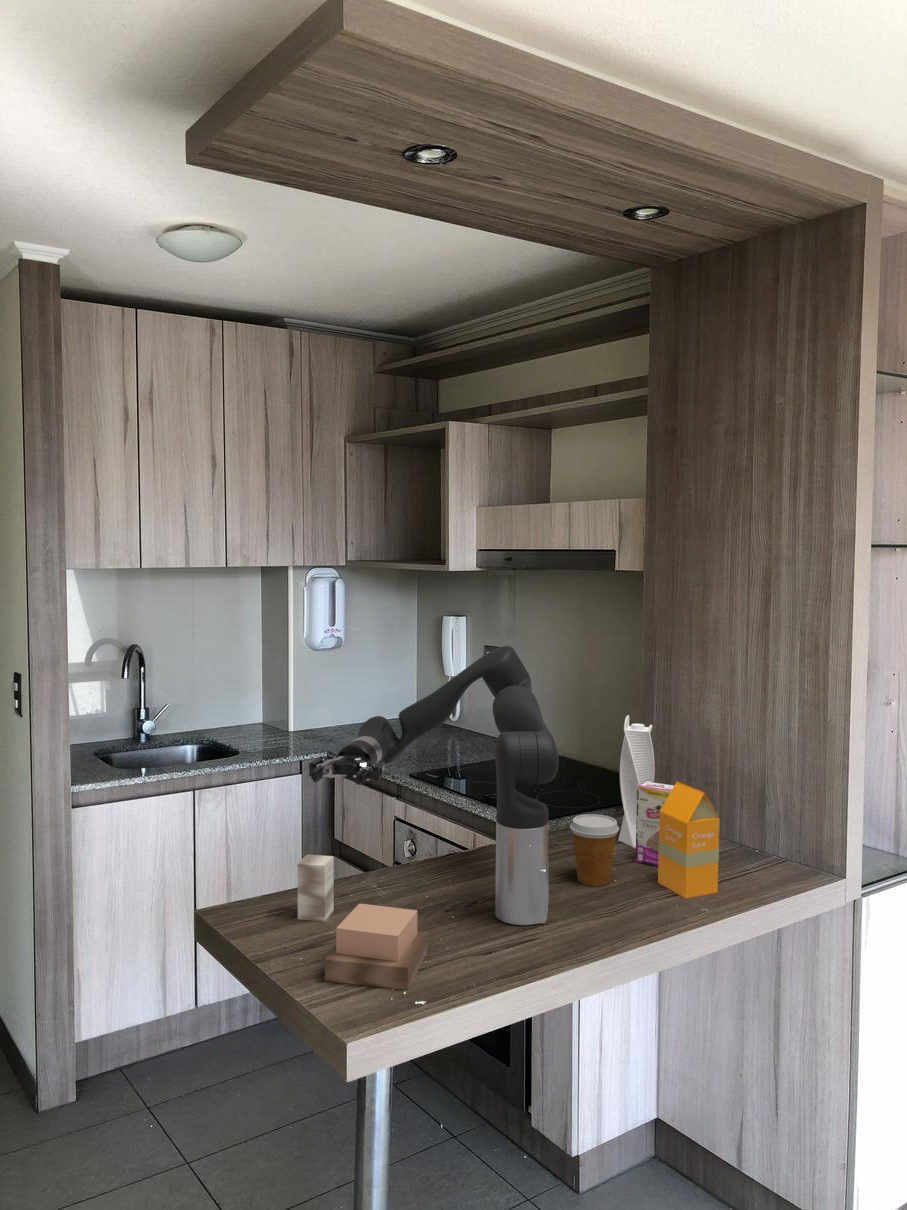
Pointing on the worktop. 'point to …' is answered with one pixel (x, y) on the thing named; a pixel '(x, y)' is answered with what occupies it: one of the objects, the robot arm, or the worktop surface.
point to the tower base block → (377, 967)
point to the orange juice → (688, 843)
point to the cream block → (315, 887)
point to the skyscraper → (634, 774)
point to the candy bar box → (649, 820)
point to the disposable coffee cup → (594, 847)
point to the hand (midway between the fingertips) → (336, 778)
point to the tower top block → (376, 932)
